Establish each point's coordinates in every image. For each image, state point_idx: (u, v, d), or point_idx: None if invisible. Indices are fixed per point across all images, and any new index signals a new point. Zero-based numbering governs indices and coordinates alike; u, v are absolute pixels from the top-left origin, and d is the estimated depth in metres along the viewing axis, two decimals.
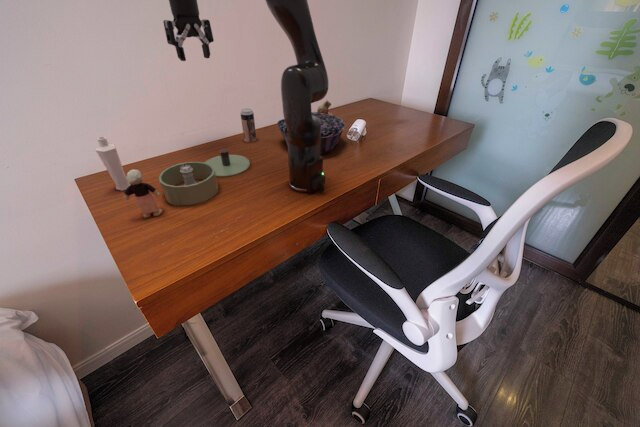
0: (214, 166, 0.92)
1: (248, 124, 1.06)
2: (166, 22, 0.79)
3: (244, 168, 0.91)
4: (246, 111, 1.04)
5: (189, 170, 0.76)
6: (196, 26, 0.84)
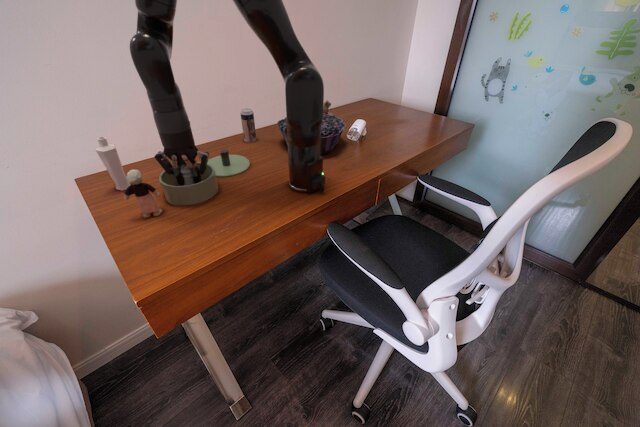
0: (214, 166, 0.92)
1: (248, 124, 1.06)
2: None
3: (244, 168, 0.91)
4: (246, 111, 1.04)
5: (189, 170, 0.76)
6: (184, 157, 0.72)
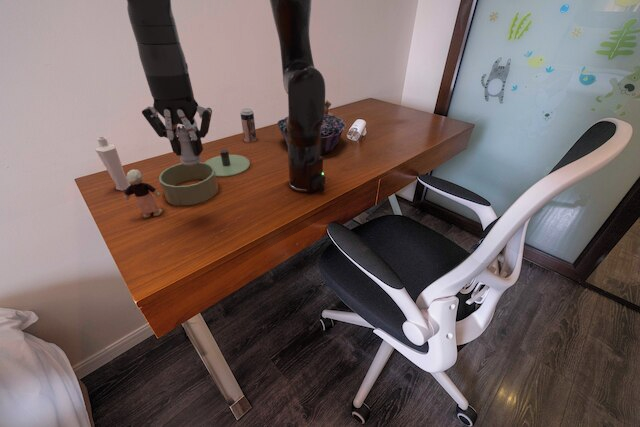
0: (214, 166, 0.92)
1: (248, 124, 1.06)
2: None
3: (244, 168, 0.91)
4: (246, 111, 1.04)
5: (187, 132, 0.60)
6: (181, 113, 0.56)
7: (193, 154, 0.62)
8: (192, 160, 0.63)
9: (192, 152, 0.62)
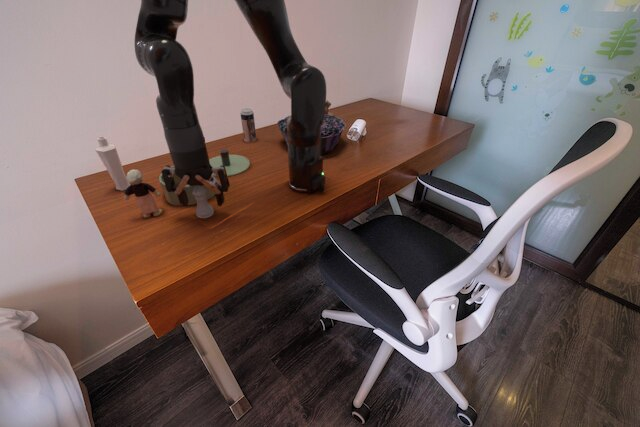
0: (214, 166, 0.92)
1: (248, 124, 1.06)
2: None
3: (244, 168, 0.91)
4: (246, 111, 1.04)
5: (202, 192, 0.68)
6: (198, 177, 0.64)
7: (207, 209, 0.71)
8: (207, 214, 0.71)
9: (206, 208, 0.71)
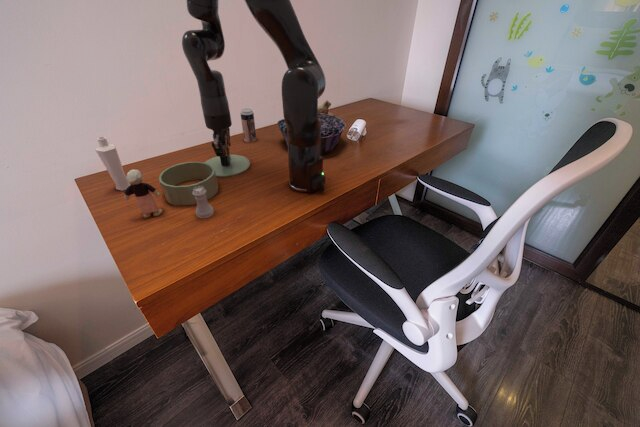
0: (214, 166, 0.92)
1: (248, 124, 1.06)
2: None
3: (244, 168, 0.91)
4: (246, 111, 1.04)
5: (202, 192, 0.68)
6: None
7: (207, 209, 0.71)
8: (207, 214, 0.71)
9: (206, 208, 0.71)
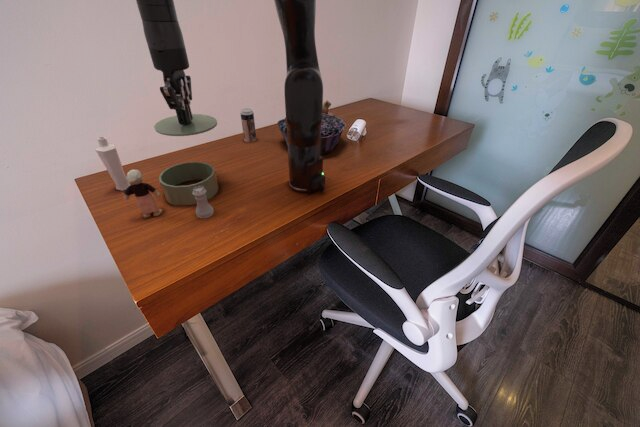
0: (170, 125, 0.72)
1: (248, 124, 1.06)
2: None
3: (208, 127, 0.71)
4: (246, 111, 1.04)
5: (202, 192, 0.68)
6: None
7: (207, 209, 0.71)
8: (207, 214, 0.71)
9: (206, 208, 0.71)
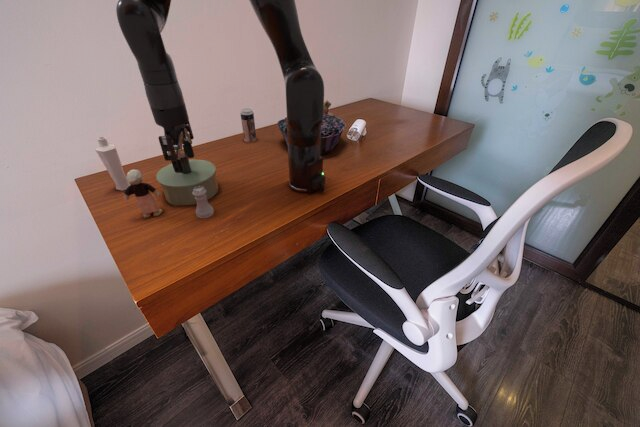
0: (171, 174, 0.76)
1: (248, 124, 1.06)
2: None
3: (207, 176, 0.75)
4: (246, 111, 1.04)
5: (202, 192, 0.68)
6: None
7: (207, 209, 0.71)
8: (207, 214, 0.71)
9: (206, 208, 0.71)
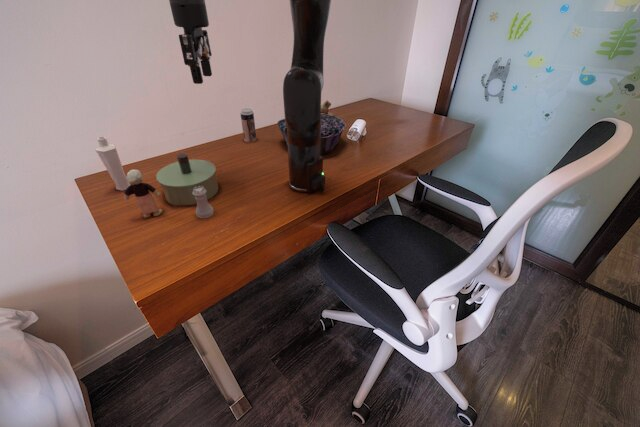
0: (171, 174, 0.76)
1: (248, 124, 1.06)
2: None
3: (207, 176, 0.75)
4: (246, 111, 1.04)
5: (202, 192, 0.68)
6: None
7: (207, 209, 0.71)
8: (207, 214, 0.71)
9: (206, 208, 0.71)
